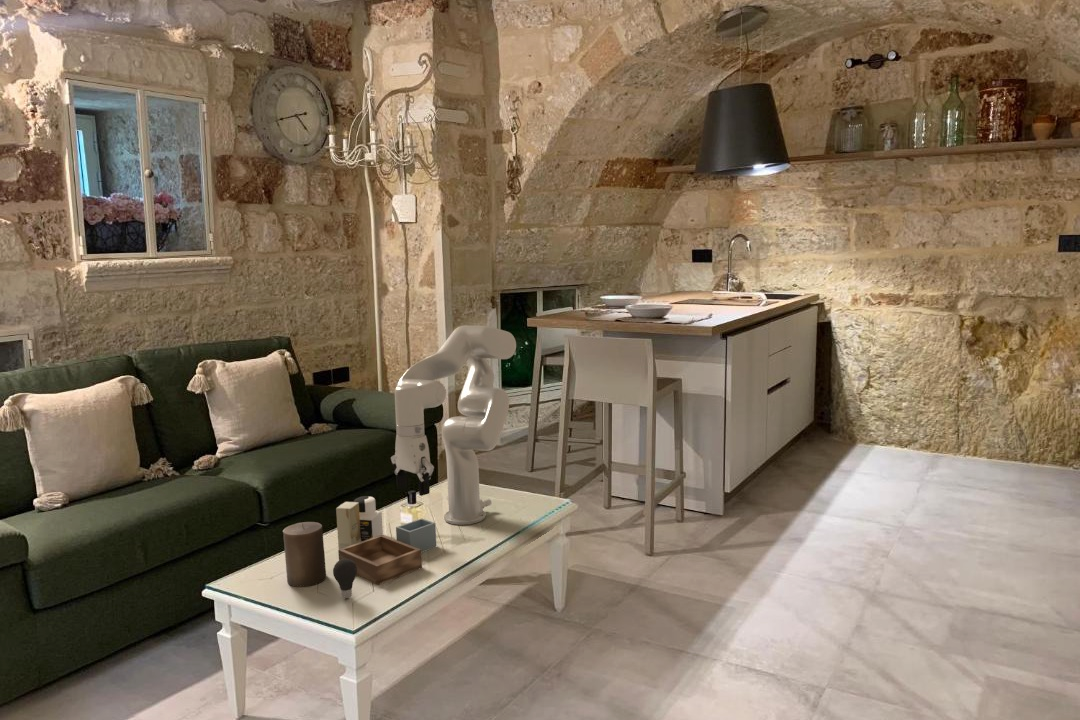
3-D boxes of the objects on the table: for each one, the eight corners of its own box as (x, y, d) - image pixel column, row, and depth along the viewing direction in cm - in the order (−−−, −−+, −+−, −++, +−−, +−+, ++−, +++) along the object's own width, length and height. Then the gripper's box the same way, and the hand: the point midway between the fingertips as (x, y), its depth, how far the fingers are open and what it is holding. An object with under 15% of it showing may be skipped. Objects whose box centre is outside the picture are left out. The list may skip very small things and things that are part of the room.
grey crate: (422, 541, 236) (421, 518, 235) (436, 546, 232) (435, 522, 231) (397, 551, 229) (395, 527, 228) (410, 556, 225) (409, 532, 224)
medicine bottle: (349, 541, 237) (347, 501, 235) (360, 532, 244) (358, 493, 242) (372, 543, 236) (370, 502, 234) (383, 534, 242) (381, 494, 241)
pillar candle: (330, 581, 210) (326, 524, 208) (291, 590, 206) (287, 532, 204) (320, 569, 219) (316, 514, 217) (282, 577, 214) (278, 521, 212)
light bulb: (335, 605, 197) (332, 565, 195) (334, 595, 202) (331, 556, 200) (359, 601, 198) (357, 562, 197) (357, 592, 204) (355, 553, 202)
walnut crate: (382, 552, 229) (381, 534, 228) (422, 567, 217) (421, 549, 217) (339, 567, 219) (338, 549, 218) (378, 585, 207) (376, 566, 207)
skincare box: (352, 551, 230) (349, 509, 228) (338, 550, 231) (335, 508, 229) (362, 542, 236) (359, 501, 234) (347, 542, 237) (345, 500, 235)
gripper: (441, 432, 222) (444, 493, 224) (401, 423, 234) (404, 482, 236) (419, 437, 217) (422, 500, 219) (379, 428, 228) (382, 488, 231)
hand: (413, 491), depth 228 cm, fingers open, 9 cm apart
